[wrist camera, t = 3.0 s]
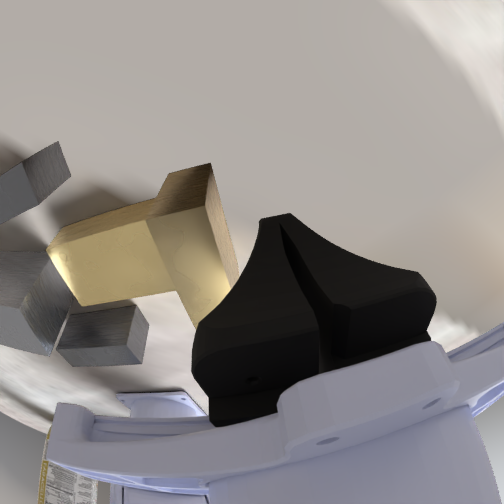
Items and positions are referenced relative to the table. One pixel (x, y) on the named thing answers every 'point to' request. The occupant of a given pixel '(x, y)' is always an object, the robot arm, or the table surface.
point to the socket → (87, 324)
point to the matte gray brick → (31, 301)
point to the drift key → (153, 248)
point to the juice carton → (64, 484)
